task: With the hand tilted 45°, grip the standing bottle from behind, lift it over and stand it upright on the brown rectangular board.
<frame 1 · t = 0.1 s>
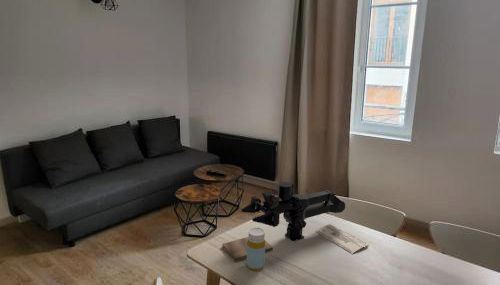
hand: (246, 215, 141), 17 cm above the table, tool horizontal, fingers open, 9 cm apart
brown rectangular board: (247, 248, 147), on the table
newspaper: (341, 239, 158), on the table
bottle: (255, 266, 136), on the table
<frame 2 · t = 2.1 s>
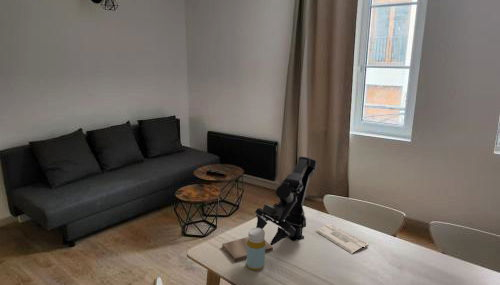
hand: (262, 239, 135), 10 cm above the table, tool tilted 45°, fingers open, 9 cm apart
nothing on the table moved.
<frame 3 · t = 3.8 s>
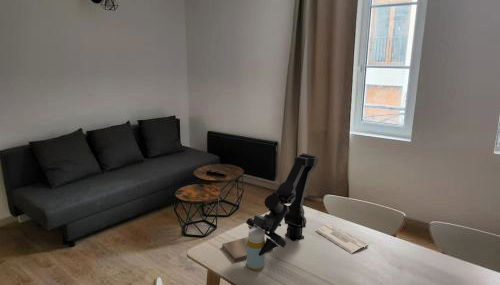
hand: (253, 251, 133), 7 cm above the table, tool tilted 45°, fingers closed on bottle, 7 cm apart
bottle: (255, 266, 136), on the table, touching gripper
everything else where it was.
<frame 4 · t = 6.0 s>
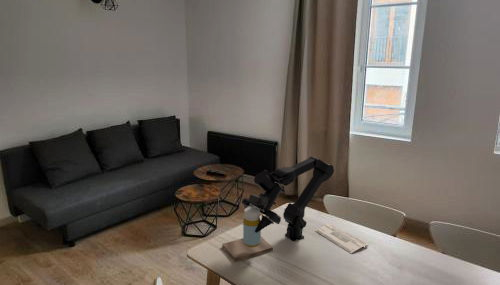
hand: (249, 228, 138), 13 cm above the table, tool tilted 45°, fingers closed on bottle, 7 cm apart
bottle: (252, 243, 141), point 5 cm above the table, touching gripper
everything else where it was.
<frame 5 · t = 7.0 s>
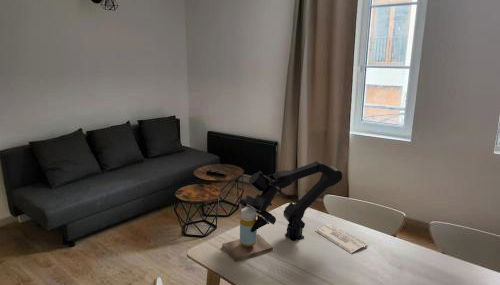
hand: (245, 228, 144), 10 cm above the table, tool tilted 45°, fingers closed on bottle, 7 cm apart
bottle: (248, 242, 147), point 3 cm above the table, touching gripper
everything else where it was.
when the fingers open (10 cm above the table, at t = 8.0 s): bottle drops 1 cm, resting on brown rectangular board.
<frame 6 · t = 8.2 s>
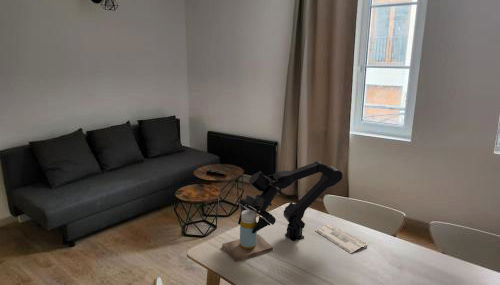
hand: (245, 228, 144), 10 cm above the table, tool tilted 45°, fingers open, 9 cm apart
bottle: (247, 245, 147), point 1 cm above the table, touching brown rectangular board
everything else where it was.
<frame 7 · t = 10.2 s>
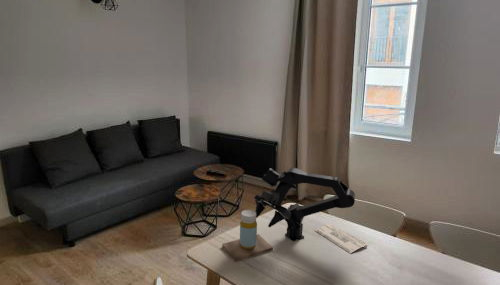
hand: (261, 222, 149), 10 cm above the table, tool tilted 45°, fingers open, 9 cm apart
nothing on the table moved.
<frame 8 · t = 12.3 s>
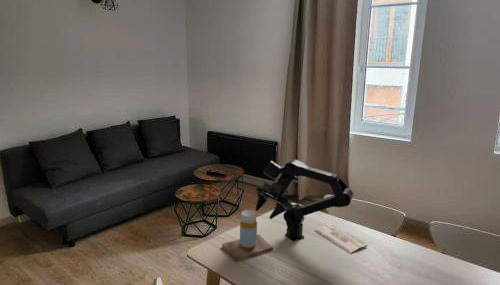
hand: (262, 214, 148), 14 cm above the table, tool tilted 45°, fingers open, 9 cm apart
nothing on the table moved.
at the end: bottle inside the target area on the brown rectangular board (0.3 cm from its centre), point 1.3 cm above the brown rectangular board's base; bottle tilted 0°; the gripper is holding nothing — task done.
